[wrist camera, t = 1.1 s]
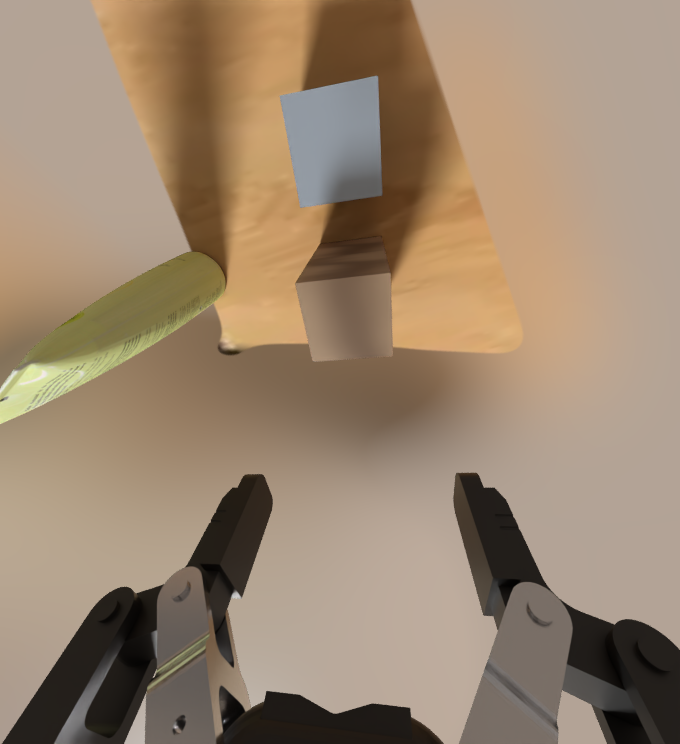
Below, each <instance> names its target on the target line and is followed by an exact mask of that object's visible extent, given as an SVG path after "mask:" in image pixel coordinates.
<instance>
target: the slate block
mask: <svg viewBox="0 0 680 744" xmlns="http://www.w3.org/2000/svg"><path fill="white" fill-rule="evenodd" d="M280 100H281V105H282V111H283V116H284V121H285V127H286V132H287V138H288V143H289V148H290V154H291V159H292V165H293V170H294V176H295V181H296V186H297V192H298V197H299V203H300V208H302V207H309V206H316V205H322V204H329V203H336V202H343V201H349V200H356V199H363V198H370V197H376V196H382V171H381V144H380V117H379V90H378V76H373V77H368V78H363V79H358V80H353V81H349V82H344V83H339V84H334V85H329V86H324V87H320V88H315V89H310V90H305V91H300V92H295V93H291V94H286V95H281V96H280Z"/></svg>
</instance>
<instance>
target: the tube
mask: <svg viewBox="0 0 680 744" xmlns="http://www.w3.org/2000/svg"><path fill="white" fill-rule="evenodd" d="M225 286H226V281H225V276H224V274H223V271H222V270H221V268H220V266H219V265H218V264H217V263H216V262H215V261H214V260H213V259H212V258H210V257H209V256H207V255H205V254H203V253H200V252H187V253H185V254H182V255H180V256H178V257H176V258H174V259H171V260H169V261H167V262H165V263H163V264H161V265H159V266H157V267H155V268H153V269H151V270H149V271H147V272H145V273H144V274H142V275H140V276H138V277H136V278H134V279H133V280H131V281H129V282H127V283H125V284H124V285H122V286H120V287H118V288H117V289H115V290H114V291H112V292H110V293H109V294H107V295H106V296H104V297H102V298H100V299H99V300H98V301H96V302H94V303H93V304H91V305H90V306H88V307H87V308H85V309H84V310H83V311H81V312H80V313H78V314H77V315H75V316H74V317H73V318H71V319H70V320H68V321H67V322H65V323H64V324H62V325H61V326H60V327H58V328H57V329H55V330H54V331H53V332H51V333H50V334H49V335H47V336H46V337H45V338H44V339H43V340H41V341H40V342H39V343H38V344H37V345H36V346H34V347H33V348H32V349H31V351H30V352H29V353H28V354H27V355H26V356H25V358H24V359H23V360H22V361H21V363H20V364H19V365H18V366H17V367H16V368H15V369H14V370H13V371H12V373H11V374H10V375H9V377H8V378H7V379H6V381H5V382H4V383H3V385H2V386H1V387H0V424H1V423H3V422H6V421H8V420H10V419H13V418H15V417H17V416H19V415H22V414H24V413H26V412H28V411H30V410H32V409H35V408H37V407H39V406H41V405H43V404H45V403H47V402H49V401H51V400H53V399H55V398H57V397H59V396H61V395H63V394H65V393H67V392H69V391H71V390H73V389H75V388H76V387H78V386H80V385H82V384H84V383H86V382H88V381H90V380H92V379H93V378H95V377H97V376H99V375H101V374H103V373H104V372H106V371H108V370H110V369H112V368H114V367H115V366H117V365H119V364H121V363H123V362H124V361H126V360H128V359H130V358H131V357H133V356H135V355H136V354H138V353H140V352H141V351H143V350H145V349H146V348H148V347H150V346H151V345H153V344H155V343H156V342H158V341H160V340H161V339H163V338H164V337H165V336H167V335H169V334H170V333H172V332H173V331H175V330H176V329H178V328H179V327H181V326H182V325H184V324H185V323H187V322H188V321H189V320H191V319H192V318H194V317H195V316H196V315H198V314H199V313H201V312H202V311H203V310H205V309H206V308H207V307H209V306H210V305H211V304H213V303H214V302H215V301H217V300H218V299H219V298H220V297H221V296H222V295H223V293H224V291H225Z"/></svg>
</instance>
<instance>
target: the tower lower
mask: <svg viewBox="0 0 680 744" xmlns="http://www.w3.org/2000/svg"><path fill="white" fill-rule="evenodd" d="M383 250H385V248H384V244H383V240H382V236H378V237H370V238H362V239H355V240H347V241H339V242H331V243H324V244H320V245H319V246H318V248H317V250H316V251H315V253H314V254H313V256H312V258H311V259H318V258H326V257H334V256H342V255H351V254H359V253H367V252H375V251H383Z"/></svg>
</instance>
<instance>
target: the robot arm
mask: <svg viewBox="0 0 680 744" xmlns="http://www.w3.org/2000/svg"><path fill="white" fill-rule="evenodd" d="M272 504H273V499H272V495H271V493H270V490H269V487H268V485H267V482H266V480H265V477H264V475H262V474H255V475H254V474H252V475H251V474H248V475H245V476H243V478H242V480H241V482H240V484H239V486H238V488H232V489H231V490H230V491H229V492H228V493H227V494H226V495H225V496H224V497H223V498H222V500H221V502H220V504H219V506H218V508H217V510H216V513H215V514H214V515H213V517H212V519H211V523H209V525H208V527H207V529H206V531H205V532H204V534H203V536H202V538H201V540H200V542H199V544H198V546H197V547H196V549H195V551H194V553H193V555H192V557H191V559H190V561H189V562H188V564H187V566H186V567H185V568H183V569H181V570H179V571H177V572H176V573H174V574H173V575H172V576H171V577H170V578H169V579H168V580H167V582H166V583H165V584H163V585H161V586H158V587H155V588H152V589H149V590H145V591H142V592H140V593H135V592H134V591H133V590H132V589H131V588H129V587H120V588H117V589H115V590H113V591H112V592H110V593H108V594H107V595H105V596H104V597H103V598H102V599H101V600H100V601H99V602H98V603H97V604H96V605H95V606H94V607H93V609H92V610H91V611H90V613H89V614H88V616H87V617H86V619H85V620H84V622H83V623H82V625H81V626H80V628H79V629H78V631H77V632H76V634H75V635H74V637H73V638H72V640H71V641H70V643H69V644H68V646H67V647H66V649H65V650H64V652H63V653H62V655H61V657H60V658H59V659H58V661H57V662H56V664H55V665H54V667H53V668H52V670H51V671H50V673H49V674H48V676H47V677H46V679H45V680H44V682H43V683H42V685H41V686H40V688H39V689H38V691H37V692H36V694H35V695H34V697H33V698H32V700H31V701H30V703H29V704H28V706H27V707H26V709H25V710H24V712H23V713H22V715H21V716H20V718H19V719H18V721H17V722H16V724H15V725H14V727H13V728H12V730H11V731H10V733H9V734H8V736H7V737H6V739H5V740H4V742H3V743H2V744H124V742H125V740H126V738H127V735H128V733H129V731H130V728H131V726H132V724H133V721H134V719H135V717H136V715H137V712H138V710H139V708H140V706H141V703H142V701H143V699H144V696H145V694H146V692H147V694H146V724H145V744H444V743H443V742H442V741H441V740H440V739H439V738H438V737H437V736H436V735H435V734H434V733H433V732H432V731H431V730H430V729H429V728H427V727H426V726H425V725H423V724H422V723H421V722H419V721H417V720H415V719H413V718H412V717H411V713H410V708H406V707H397V706H389V705H381V704H369V705H366V706H362V707H359V708H356V709H352V710H349V711H345V712H342V713H338V714H333V713H330V712H329V711H327V710H325V709H324V708H322V707H320V706H318V705H317V704H315V703H313V702H311V701H310V700H308V699H306V698H304V697H302V696H301V695H296V694H288V693H279V692H270V691H266V696H265V701H264V702H262V703H260V704H258V705H256V706H254V707H252V708H251V705H250V700H249V696H248V692H247V689H246V686H245V683H244V680H243V678H242V676H241V673H240V669H239V665H238V660H237V655H236V650H235V644H234V639H233V634H232V629H231V624H230V619H229V614H228V610H227V608H228V605H229V602H230V600H231V598H240V599H241V598H242V596H243V593H244V590H245V587H246V584H247V581H248V578H249V575H250V572H251V569H252V567H253V564H254V561H255V558H256V555H257V552H258V549H259V546H260V543H261V540H262V537H263V534H264V532H265V529H266V526H267V523H268V520H269V517H270V514H271V511H272ZM454 508H455V514H456V517H457V521H458V525H459V528H460V532H461V536H462V539H463V543H464V547H465V550H466V554H467V557H468V561H469V564H470V568H471V572H472V576H473V579H474V583H475V586H476V590H477V594H478V597H479V601H480V605H481V608H482V612H483V615H484V616H494V619H495V622H496V626H497V630H498V633H497V635H496V638H495V641H494V645H493V647H492V650H491V653H490V656H489V659H488V662H487V664H486V667H485V670H484V673H483V676H482V679H481V682H480V685H479V687H478V690H477V693H476V696H475V699H474V702H473V705H472V708H471V710H470V713H469V717H468V719H467V722H466V725H465V728H464V731H463V734H462V737H461V740H460V743H459V744H558V726H557V715H558V709H559V703H560V698H561V692H562V690H563V691H565V692H568V693H569V694H571V695H574V696H576V697H577V698H579V699H581V700H584V701H586V702H588V703H590V704H591V705H592V707H593V710H594V712H595V715H596V717H597V720H598V722H599V725H600V727H601V730H602V732H603V734H604V737H605V739H606V742H607V744H680V650H679V649H678V647H676V646H675V645H674V644H673V643H672V642H671V641H670V640H669V639H668V638H667V637H666V636H664V635H663V634H662V633H660V632H659V631H657V630H656V629H654V628H652V627H650V626H649V625H647V624H645V623H642V622H639V621H636V620H630V619H625V620H621V621H619V622H617V623H616V624H615V625H614V624H611V623H609V622H606V621H604V620H601V619H598V618H596V617H593V616H591V615H588V614H585V613H583V612H580V611H578V610H576V609H574V608H572V607H570V606H569V605H567V604H566V603H564V602H563V601H562V600H560V599H559V598H558V597H557V596H556V595H555V594H554V593H553V592H552V591H551V590H550V588H549V587H548V586H547V585H546V583H545V582H544V580H543V578H542V576H541V574H540V572H539V570H538V567H537V565H536V563H535V561H534V559H533V557H532V555H531V553H530V550H529V548H528V546H527V544H526V542H525V540H524V538H523V535H522V533H521V531H520V530H519V528H518V525H517V523H516V520H515V518H514V517H513V514H512V512H511V510H510V508H509V505H508V503H507V501H506V499H505V498H504V497H503V496H502V495H501V494H500V493H499V492H498V491H497V490H496V489H495V488H484V487H483V485H482V482H481V480H480V477H479V475H478V474H477V473H456V476H455V487H454ZM156 669H157V672H156V675H155V677H154V678H153V676H154V673H155V671H156ZM152 678H153V679H152Z"/></svg>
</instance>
